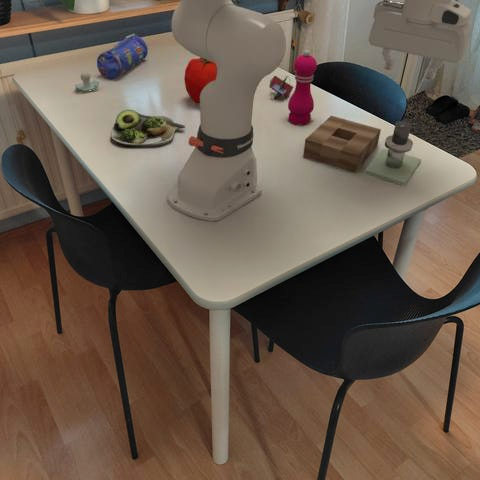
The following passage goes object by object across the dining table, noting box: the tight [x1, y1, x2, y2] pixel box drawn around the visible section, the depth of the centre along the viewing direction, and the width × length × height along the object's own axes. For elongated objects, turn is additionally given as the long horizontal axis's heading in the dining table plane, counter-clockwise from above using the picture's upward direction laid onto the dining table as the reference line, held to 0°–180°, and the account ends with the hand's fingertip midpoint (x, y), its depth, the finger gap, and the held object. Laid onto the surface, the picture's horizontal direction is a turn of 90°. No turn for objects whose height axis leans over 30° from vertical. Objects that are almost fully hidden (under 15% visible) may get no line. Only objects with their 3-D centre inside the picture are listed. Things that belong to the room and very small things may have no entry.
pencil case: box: [96, 33, 149, 80], centre depth 167 cm, size 22×9×10 cm, turn 162°
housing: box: [302, 115, 382, 174], centre depth 129 cm, size 16×14×5 cm
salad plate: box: [110, 109, 186, 148], centre depth 134 cm, size 19×18×5 cm
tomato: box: [183, 57, 217, 105], centre depth 147 cm, size 13×13×13 cm
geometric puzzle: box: [268, 75, 295, 100], centre depth 154 cm, size 7×7×8 cm
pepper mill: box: [287, 49, 318, 126], centre depth 137 cm, size 7×7×20 cm
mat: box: [364, 148, 422, 186], centre depth 125 cm, size 13×10×1 cm
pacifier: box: [74, 71, 100, 92], centre depth 154 cm, size 7×6×6 cm
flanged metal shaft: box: [384, 120, 414, 169], centre depth 121 cm, size 6×6×11 cm
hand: (408, 73), depth 111 cm, fingers open, 8 cm apart
